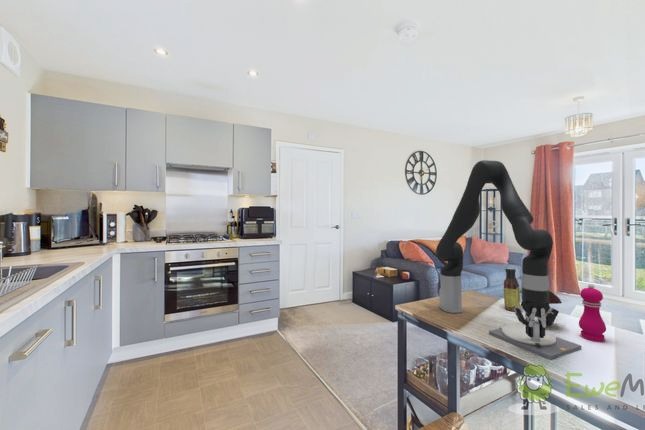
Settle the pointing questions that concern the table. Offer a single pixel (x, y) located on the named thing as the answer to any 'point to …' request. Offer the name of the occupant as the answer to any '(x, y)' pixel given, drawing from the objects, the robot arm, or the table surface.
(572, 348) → the dial base
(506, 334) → the cam dial
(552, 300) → the decorative mushroom
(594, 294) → the pepper mill
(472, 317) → the table surface
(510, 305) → the sauce bottle
